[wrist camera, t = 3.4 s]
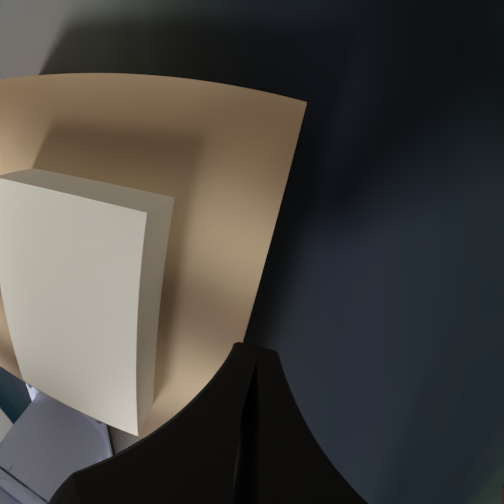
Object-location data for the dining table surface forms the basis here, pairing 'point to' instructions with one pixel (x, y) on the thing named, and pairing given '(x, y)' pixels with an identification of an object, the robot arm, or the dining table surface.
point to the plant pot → (502, 496)
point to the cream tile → (84, 289)
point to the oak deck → (169, 184)
